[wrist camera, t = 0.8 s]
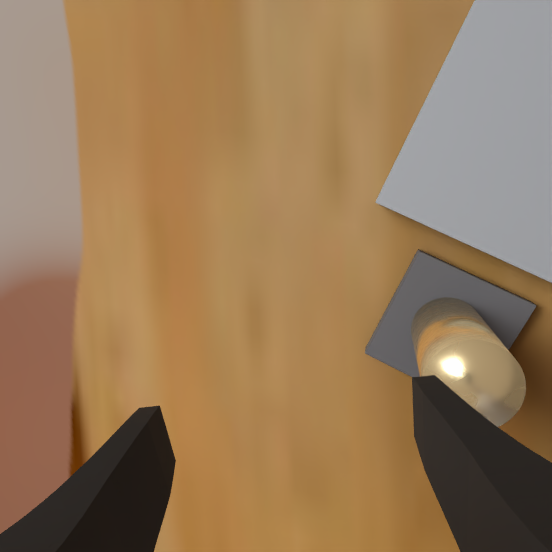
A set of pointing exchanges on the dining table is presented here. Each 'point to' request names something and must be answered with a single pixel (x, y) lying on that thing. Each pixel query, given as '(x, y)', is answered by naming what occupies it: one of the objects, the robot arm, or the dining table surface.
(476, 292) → the pad
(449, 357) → the shiny gold tapered cylinder
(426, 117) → the plate
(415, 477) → the dining table surface
